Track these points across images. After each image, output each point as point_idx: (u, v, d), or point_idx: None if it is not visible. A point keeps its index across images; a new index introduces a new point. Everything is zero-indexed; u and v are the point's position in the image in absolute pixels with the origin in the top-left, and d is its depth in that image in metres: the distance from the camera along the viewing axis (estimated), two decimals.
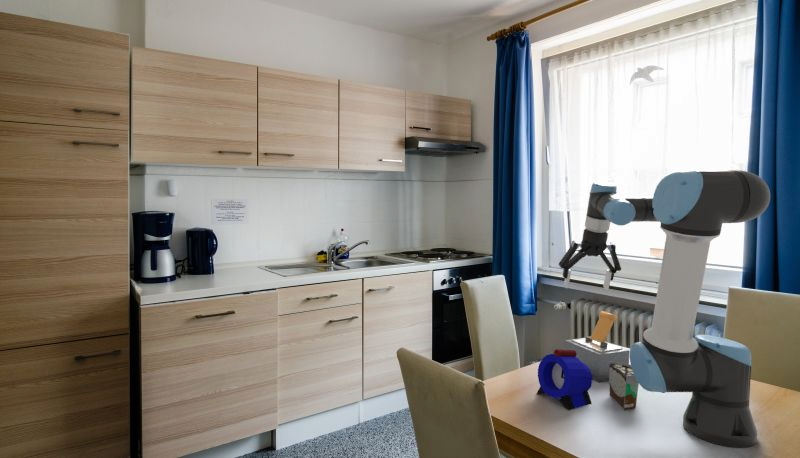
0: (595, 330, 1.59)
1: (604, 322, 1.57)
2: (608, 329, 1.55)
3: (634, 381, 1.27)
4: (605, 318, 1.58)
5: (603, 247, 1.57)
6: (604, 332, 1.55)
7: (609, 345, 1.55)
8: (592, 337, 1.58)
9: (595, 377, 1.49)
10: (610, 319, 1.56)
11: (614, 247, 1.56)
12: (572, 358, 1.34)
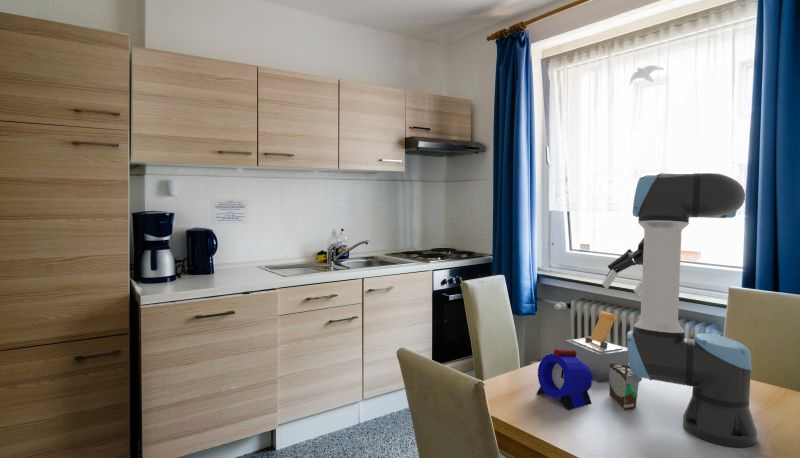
0: (595, 330, 1.59)
1: (604, 322, 1.57)
2: (608, 329, 1.55)
3: (634, 381, 1.27)
4: (605, 318, 1.58)
5: None
6: (604, 332, 1.55)
7: (609, 345, 1.55)
8: (592, 337, 1.58)
9: (595, 377, 1.49)
10: (610, 319, 1.56)
11: None
12: (572, 358, 1.34)
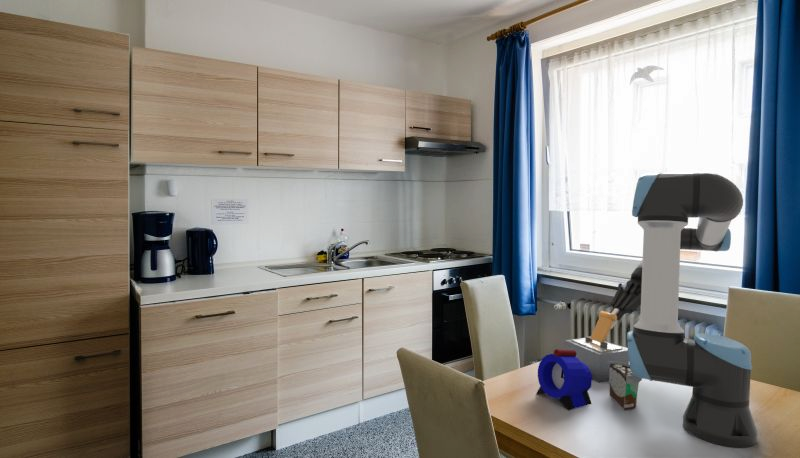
0: (595, 330, 1.59)
1: (604, 322, 1.57)
2: (608, 329, 1.55)
3: (634, 381, 1.27)
4: (605, 318, 1.58)
5: None
6: (604, 332, 1.55)
7: (609, 345, 1.55)
8: (592, 337, 1.58)
9: (595, 377, 1.49)
10: (610, 319, 1.56)
11: None
12: (572, 358, 1.34)
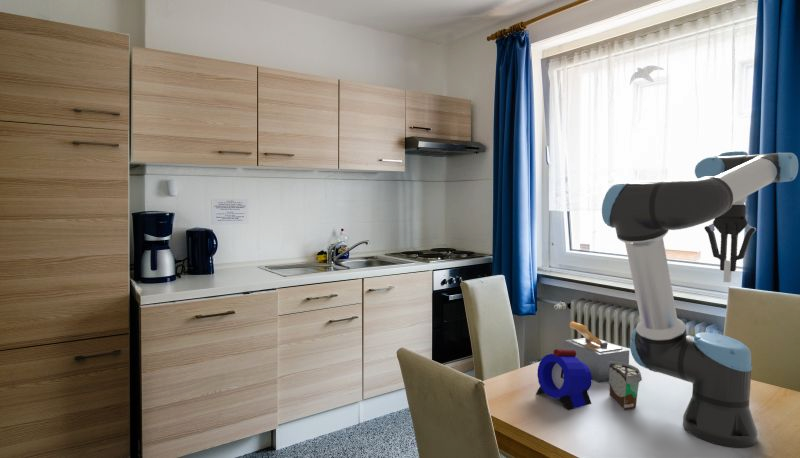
0: (585, 336, 1.57)
1: (582, 332, 1.54)
2: (591, 336, 1.53)
3: (634, 381, 1.27)
4: None
5: (740, 223, 1.39)
6: (592, 339, 1.54)
7: (609, 345, 1.55)
8: (589, 340, 1.58)
9: (595, 377, 1.49)
10: (583, 331, 1.52)
11: (752, 231, 1.38)
12: (571, 358, 1.34)
